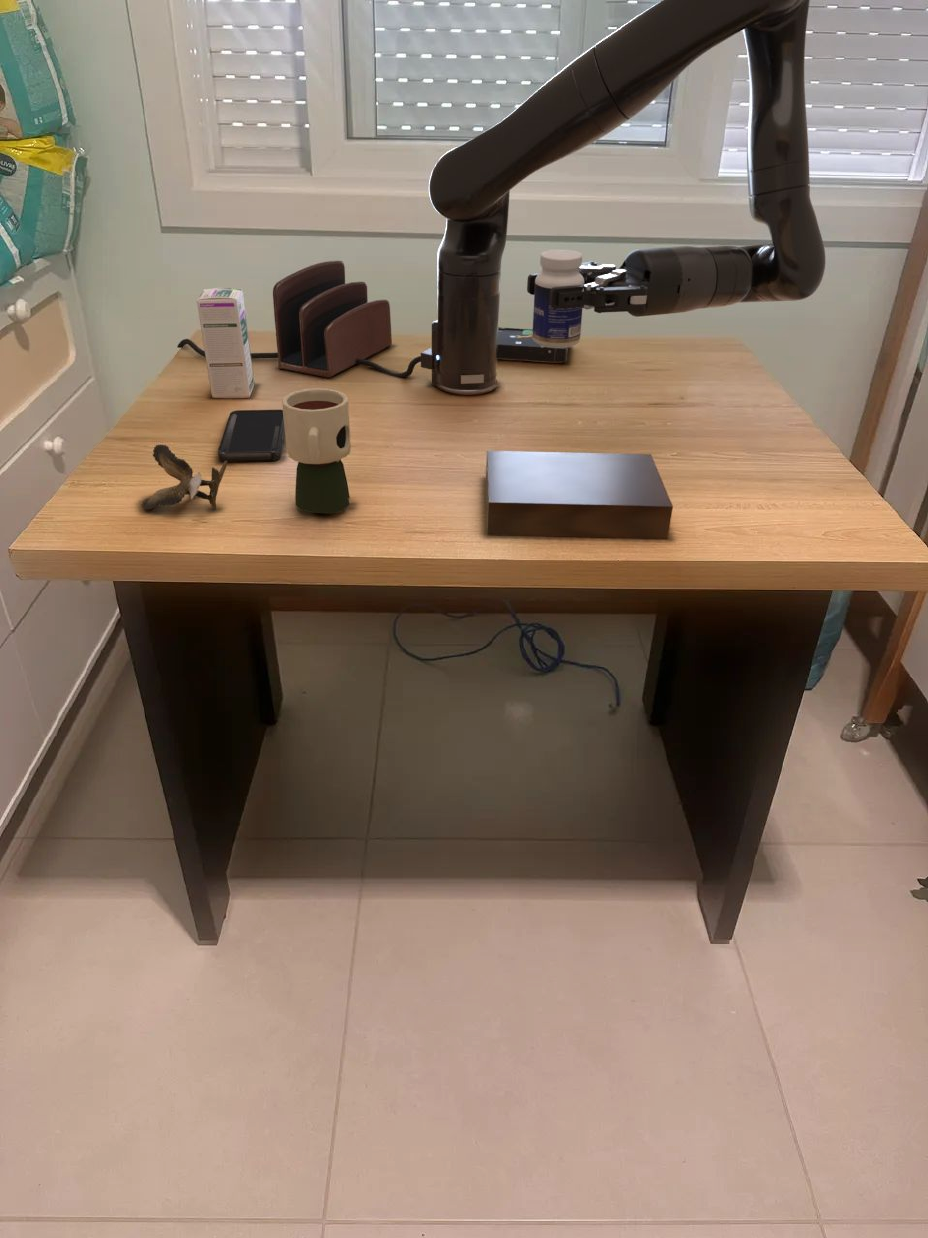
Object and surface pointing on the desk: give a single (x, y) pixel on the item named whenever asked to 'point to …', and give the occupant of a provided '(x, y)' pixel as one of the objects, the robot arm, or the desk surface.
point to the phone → (253, 436)
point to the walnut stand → (575, 495)
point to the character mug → (318, 447)
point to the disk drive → (526, 347)
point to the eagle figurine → (182, 481)
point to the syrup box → (226, 342)
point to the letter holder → (327, 321)
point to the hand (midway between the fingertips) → (540, 291)
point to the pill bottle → (547, 322)
